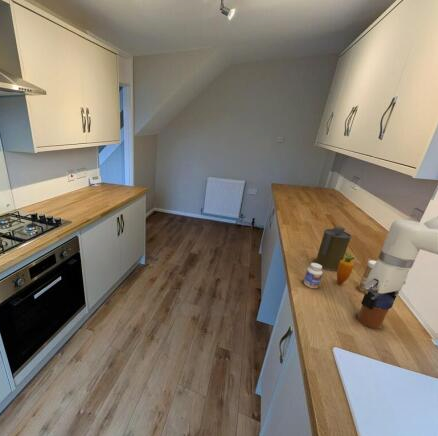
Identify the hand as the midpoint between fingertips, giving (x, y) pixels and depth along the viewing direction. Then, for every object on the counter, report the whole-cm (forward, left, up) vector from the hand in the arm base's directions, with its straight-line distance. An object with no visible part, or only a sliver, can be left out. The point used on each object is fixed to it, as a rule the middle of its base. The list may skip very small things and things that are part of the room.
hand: (376, 304), depth 80 cm
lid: (0, 0, +3) cm, 3 cm away
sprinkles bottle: (-17, -14, -8) cm, 23 cm away
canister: (-20, -34, -8) cm, 40 cm away
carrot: (-11, -20, -8) cm, 24 cm away
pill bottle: (+2, -22, -8) cm, 23 cm away
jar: (0, 0, -8) cm, 8 cm away
